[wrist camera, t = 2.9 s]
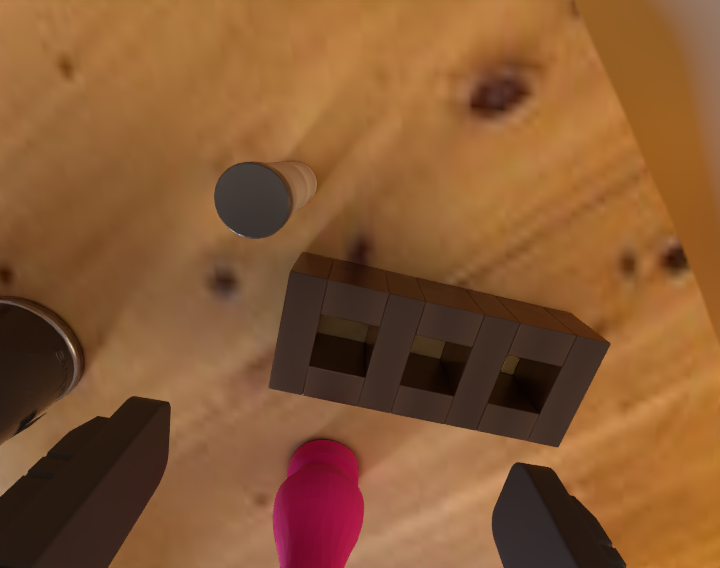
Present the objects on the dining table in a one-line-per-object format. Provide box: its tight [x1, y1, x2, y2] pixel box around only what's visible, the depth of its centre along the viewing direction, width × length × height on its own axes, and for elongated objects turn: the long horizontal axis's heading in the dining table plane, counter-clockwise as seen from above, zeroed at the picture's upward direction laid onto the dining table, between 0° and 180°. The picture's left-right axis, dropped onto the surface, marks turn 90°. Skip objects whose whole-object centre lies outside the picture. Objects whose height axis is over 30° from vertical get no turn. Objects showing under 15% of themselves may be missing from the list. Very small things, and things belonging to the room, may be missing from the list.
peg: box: [214, 161, 317, 239], centre depth 21 cm, size 3×3×11 cm
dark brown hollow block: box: [269, 252, 611, 447], centre depth 28 cm, size 21×9×5 cm, turn 77°
